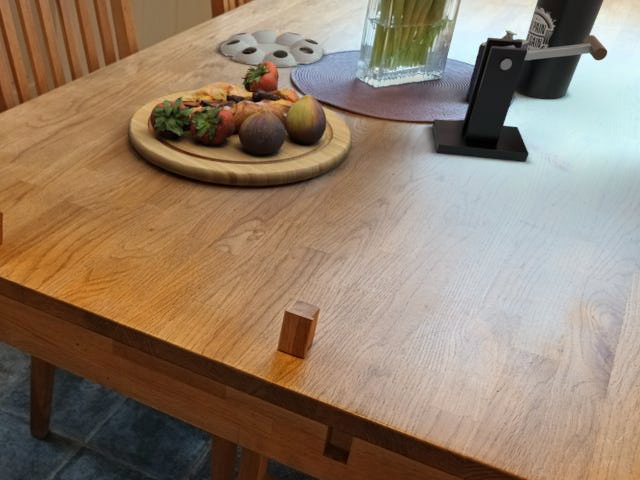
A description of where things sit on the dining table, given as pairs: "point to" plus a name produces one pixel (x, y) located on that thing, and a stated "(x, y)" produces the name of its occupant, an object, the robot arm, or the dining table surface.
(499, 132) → the black stand
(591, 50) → the lever
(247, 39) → the round palette
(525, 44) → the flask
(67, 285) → the dining table surface
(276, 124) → the wooden plate
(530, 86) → the water bottle
